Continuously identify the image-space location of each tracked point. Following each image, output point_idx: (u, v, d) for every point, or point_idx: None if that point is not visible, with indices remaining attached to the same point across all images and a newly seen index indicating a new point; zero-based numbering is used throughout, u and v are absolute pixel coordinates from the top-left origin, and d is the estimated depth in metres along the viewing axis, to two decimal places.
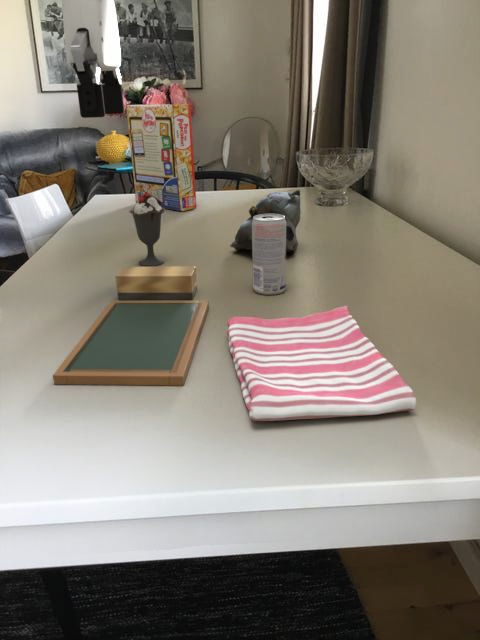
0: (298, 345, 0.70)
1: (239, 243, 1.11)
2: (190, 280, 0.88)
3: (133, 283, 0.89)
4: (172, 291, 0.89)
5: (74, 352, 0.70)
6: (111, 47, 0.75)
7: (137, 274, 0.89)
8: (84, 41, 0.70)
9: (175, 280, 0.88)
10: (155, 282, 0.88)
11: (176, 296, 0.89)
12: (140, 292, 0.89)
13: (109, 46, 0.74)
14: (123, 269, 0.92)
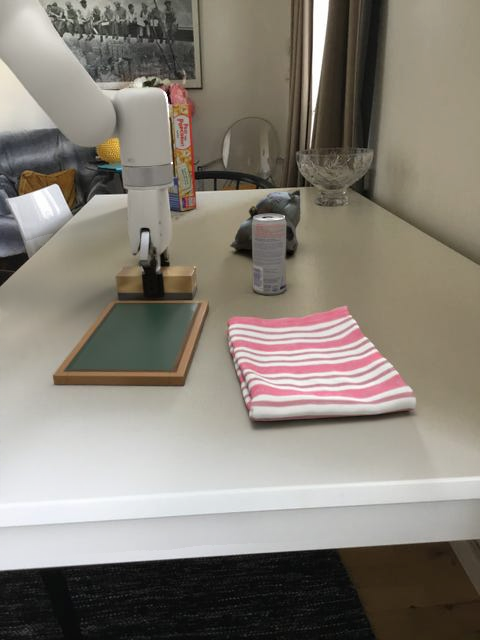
0: (298, 345, 0.70)
1: (239, 243, 1.11)
2: (190, 280, 0.88)
3: (133, 283, 0.89)
4: (172, 291, 0.89)
5: (74, 352, 0.70)
6: (166, 234, 0.87)
7: (137, 274, 0.89)
8: (149, 247, 0.83)
9: (175, 280, 0.88)
10: None
11: (176, 296, 0.89)
12: (140, 292, 0.89)
13: (165, 235, 0.86)
14: (123, 269, 0.92)
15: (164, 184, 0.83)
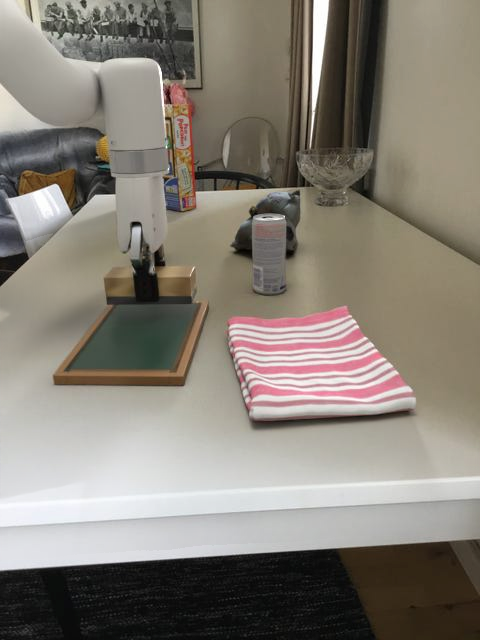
0: (298, 345, 0.70)
1: (239, 243, 1.11)
2: (189, 282, 0.77)
3: (123, 286, 0.78)
4: (168, 294, 0.78)
5: (74, 352, 0.70)
6: (161, 229, 0.76)
7: (128, 275, 0.78)
8: (140, 244, 0.72)
9: (172, 282, 0.77)
10: None
11: (172, 300, 0.78)
12: (132, 296, 0.78)
13: (159, 230, 0.75)
14: (112, 270, 0.80)
15: (158, 171, 0.71)
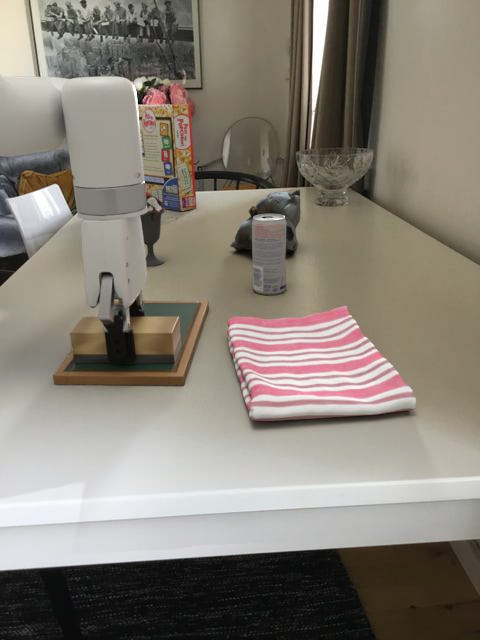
0: (298, 345, 0.70)
1: (239, 243, 1.11)
2: (171, 338, 0.65)
3: (93, 343, 0.66)
4: (147, 353, 0.66)
5: None
6: (138, 277, 0.64)
7: (99, 330, 0.66)
8: (111, 299, 0.60)
9: (151, 338, 0.65)
10: None
11: (152, 360, 0.66)
12: (104, 354, 0.66)
13: (135, 280, 0.63)
14: (82, 321, 0.68)
15: (133, 211, 0.59)
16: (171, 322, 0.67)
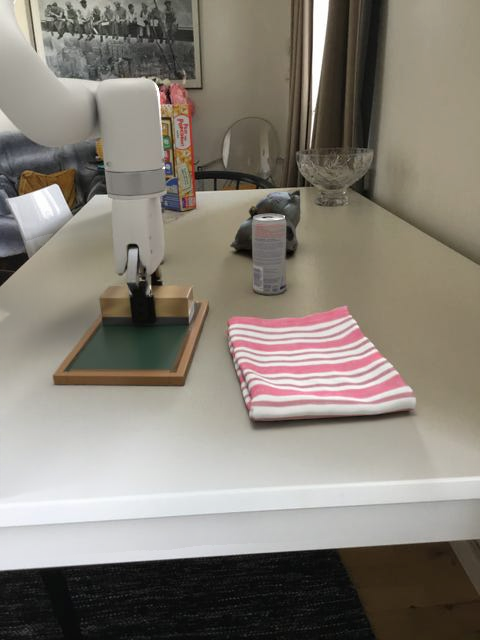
0: (298, 345, 0.70)
1: (239, 243, 1.11)
2: (186, 302, 0.75)
3: (119, 306, 0.76)
4: (165, 315, 0.76)
5: (74, 352, 0.70)
6: (158, 250, 0.75)
7: (124, 295, 0.76)
8: (137, 267, 0.70)
9: (169, 303, 0.76)
10: None
11: (169, 321, 0.77)
12: (128, 316, 0.77)
13: (156, 252, 0.74)
14: (108, 289, 0.79)
15: (155, 192, 0.70)
16: (186, 289, 0.78)
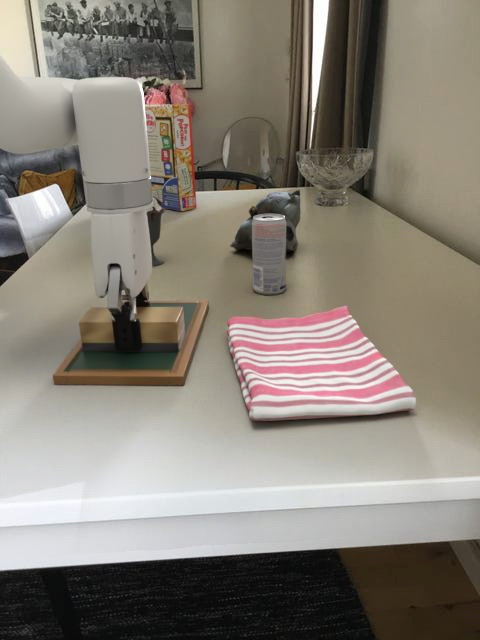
0: (298, 345, 0.70)
1: (239, 243, 1.11)
2: (175, 327, 0.68)
3: (101, 331, 0.69)
4: (152, 341, 0.69)
5: (74, 352, 0.70)
6: (144, 269, 0.67)
7: (107, 319, 0.69)
8: (119, 289, 0.63)
9: (156, 327, 0.68)
10: None
11: (157, 348, 0.69)
12: (111, 342, 0.69)
13: (142, 271, 0.66)
14: (90, 311, 0.71)
15: (140, 206, 0.62)
16: (175, 312, 0.70)
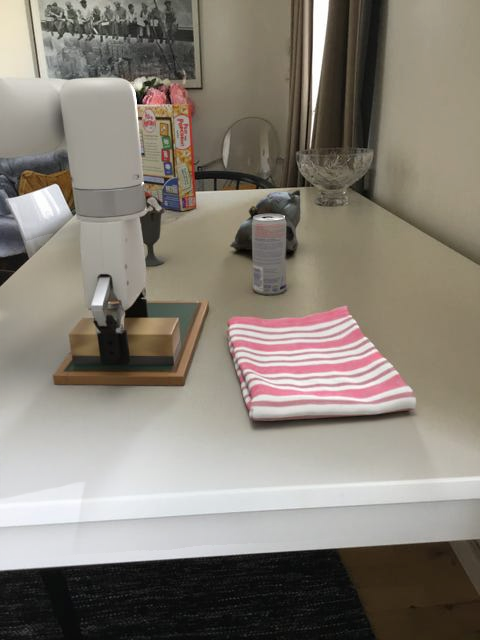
0: (298, 345, 0.70)
1: (239, 243, 1.11)
2: (170, 340, 0.64)
3: (92, 344, 0.65)
4: (146, 354, 0.65)
5: None
6: (137, 279, 0.64)
7: None
8: (107, 294, 0.58)
9: (150, 340, 0.65)
10: None
11: (151, 361, 0.66)
12: None
13: (134, 282, 0.63)
14: (81, 322, 0.68)
15: (132, 213, 0.59)
16: (170, 323, 0.67)
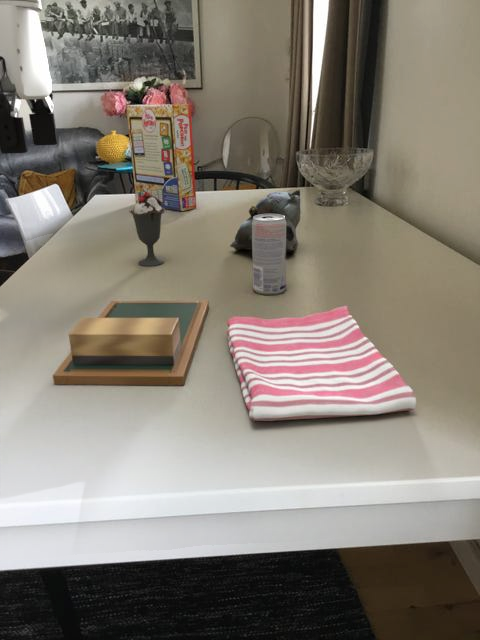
0: (298, 345, 0.70)
1: (239, 243, 1.11)
2: (170, 340, 0.64)
3: (92, 344, 0.65)
4: (146, 354, 0.65)
5: None
6: (35, 75, 0.68)
7: (98, 331, 0.65)
8: None
9: (150, 340, 0.65)
10: (123, 342, 0.65)
11: (151, 361, 0.66)
12: (103, 355, 0.66)
13: (31, 75, 0.67)
14: (81, 322, 0.68)
15: (23, 0, 0.64)
16: (170, 323, 0.67)
